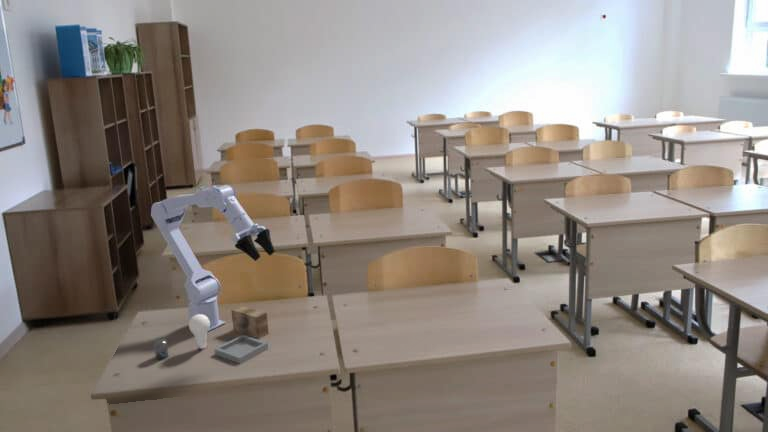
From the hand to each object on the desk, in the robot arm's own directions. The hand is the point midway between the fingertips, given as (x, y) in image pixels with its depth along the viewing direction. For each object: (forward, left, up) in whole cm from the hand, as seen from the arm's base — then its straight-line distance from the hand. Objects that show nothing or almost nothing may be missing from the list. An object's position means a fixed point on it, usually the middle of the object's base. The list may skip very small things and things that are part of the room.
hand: (265, 256), depth 187 cm
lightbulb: (-16, -15, -28) cm, 35 cm away
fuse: (-22, -25, -28) cm, 43 cm away
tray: (-4, -10, -28) cm, 30 cm away
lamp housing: (-12, +1, -28) cm, 30 cm away
